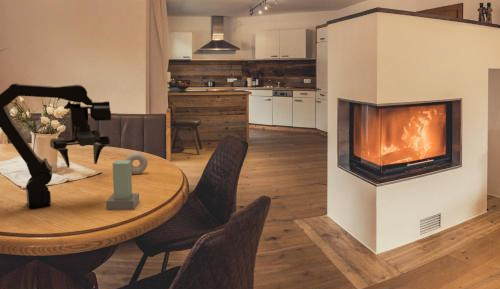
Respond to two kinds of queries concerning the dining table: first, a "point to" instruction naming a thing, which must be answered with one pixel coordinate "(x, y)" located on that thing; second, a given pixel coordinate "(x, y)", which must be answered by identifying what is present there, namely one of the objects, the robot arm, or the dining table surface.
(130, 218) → the dining table surface
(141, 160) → the donut
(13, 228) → the dining table surface
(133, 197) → the slate plinth
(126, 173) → the sage green block
